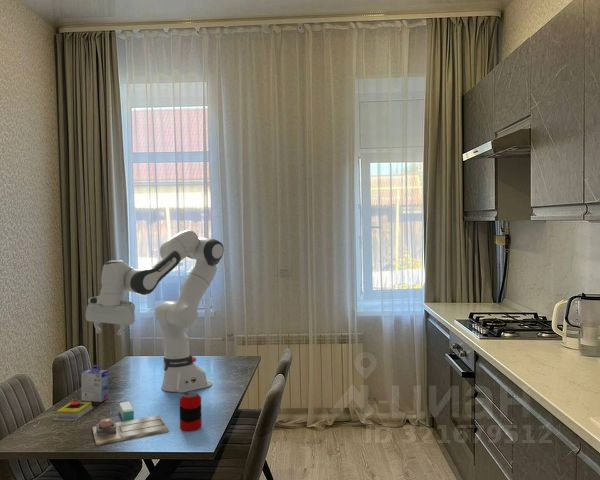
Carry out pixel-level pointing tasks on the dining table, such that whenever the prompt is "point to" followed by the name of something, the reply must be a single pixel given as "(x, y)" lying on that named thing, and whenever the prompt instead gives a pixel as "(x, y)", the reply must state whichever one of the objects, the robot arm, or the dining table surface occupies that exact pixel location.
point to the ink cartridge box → (95, 384)
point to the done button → (105, 423)
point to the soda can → (190, 412)
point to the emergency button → (73, 411)
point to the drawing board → (129, 429)
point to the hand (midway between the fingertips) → (109, 334)
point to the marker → (126, 411)
